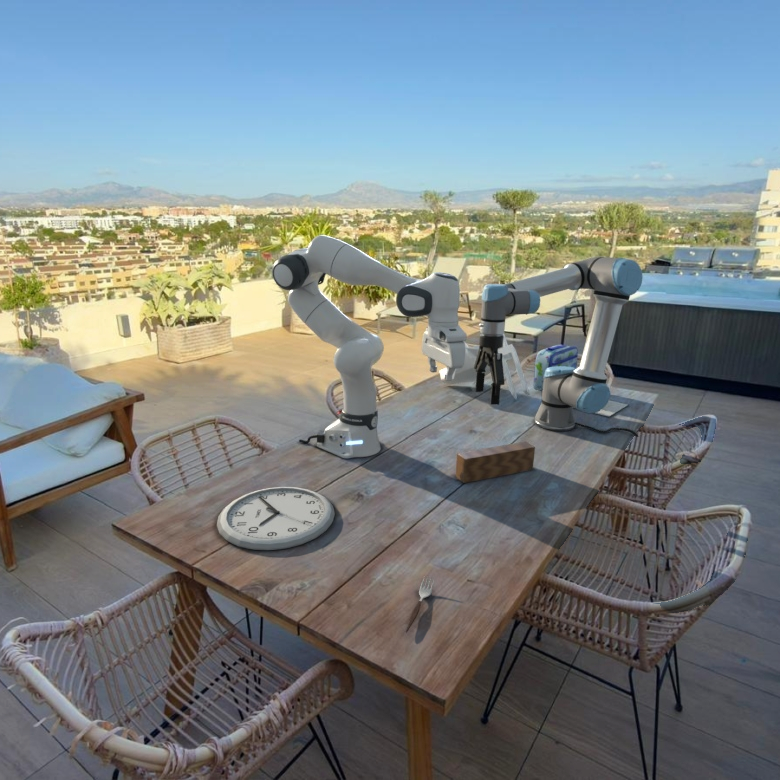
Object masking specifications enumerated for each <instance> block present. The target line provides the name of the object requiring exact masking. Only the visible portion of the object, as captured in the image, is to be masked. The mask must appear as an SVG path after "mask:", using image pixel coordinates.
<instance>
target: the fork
mask: <svg viewBox="0 0 780 780" xmlns="http://www.w3.org/2000/svg"><path fill="white" fill-rule="evenodd" d="M435 577H436V576H434V577H433V580H432V577H429V576H427V577H426V574H424V575H423V579H422V581H421V585H420V588H419V589H418V594H419V597H420V598H419V600H418V602H417V604H416V605H415V606H414V608H413V609H412V611H411V615H410V618H409V620H408V621H409V622H408V623H407V627H406V630H405V633H408V632H409V630H410V629H411V627H412V625H413V624H414V621H415V620H416V618H417V617H418V615H419V613H420V608H421V605H422V603H423V602H422V601H423V599H425V598H428V597H430V596H431V595H432V592H433V588H434V583H435ZM425 578H426V581H425ZM429 578H430V579H429ZM428 579H429V582H428ZM431 581H432V583H431ZM424 582H425V583H424Z"/></svg>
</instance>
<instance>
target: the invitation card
mask: <svg viewBox="0 0 780 780" xmlns="http://www.w3.org/2000/svg"><path fill="white" fill-rule="evenodd" d="M628 406H629V404H627V403H623V402H618V401H614V400H610V399H609V401H608V403H607V404H606V406H605V407H604V408H603V409H601V410H600V411H598V412H596V413H595V414H596V415H600V416H604V417H608V418H609V417H611V416H613V415H614V414H616V413H617V412H619V411H621V410H623V409H624V408H626V407H628Z"/></svg>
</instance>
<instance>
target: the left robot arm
mask: <svg viewBox="0 0 780 780" xmlns="http://www.w3.org/2000/svg"><path fill="white" fill-rule="evenodd" d="M271 269H272V270H271V274H272V279H273V280H274V282H275V284H276V285H277V286H278V287H279V288H280V289H282V290H285V291H289V292H288V294H287V295H288V296H287V302H288V303H287V304H288V305H289V306H290V308H291V309H292V311H293V312H294V313H295V315H296V316H297V317H298V318H299V319H300V320H301V321H302V322H303V323H304V324H305V325H306V326H307V327H308V329H309V330H311V331H312V332H313V334H315V335H316V336H317V338H319V339H320V340H321V341H323V342H324V343H326V344H330V345H332V346H333V347H335V348H337V349H336V351H335V353H333V354H334V355H333V365H334V368H335V369H336V371H337V372H338V373H339V376H340V377H339V378H340V380H341V384H342V396H343V399H342V402H343V404H342V405H343V407H342V408H341V409H340V410H338V411H337V412H336V413H337V414H336V415H337V416H338V415H339V417H338V418H337V419H336V420H334V421H333V422H331V423H330V424H329V425H328V426H326V427H325V429H324V430H318V431H317V434H314V435H310V436H308V437H307V439H306V440H304V439H299V441H298V442H299V443H301V444H302V443H303V444H309V443H310V442H311V439H316V447H317V448H319V449H322V450H324V451H326V452H329V453H331V454H333V455H335V456H338V457H340V458H343V459H352V458H364V457H365V458H366V457H371V456H374V455H376V454H378V453H380V452H381V450H382V446H381V444H380V440H379V434H378V424H379V423H378V422H379V414H378V413H379V411H378V408H377V402H378V401H377V395H378V393H377V386H376V385H375V383H374V377H373V373H372V370H373V366H374V365H376V364H377V363H378V362H379V361H380V359H381V358H382V356H383V353H384V349H385V347H384V346H385V345H384V341H383V340H382V339H381V337H380V336H378V335H377V334H376V333H371V332H370V331H368V330H367V329H365V328H364V327H362V326H361V325H360V324H358V323H356V322H355V321H354V320H352V319H351V318H349V317H348V316H347V315H346V314H344V313H343V312H342V311H341V310H340V309H339V308H338V307H337V306H336V305H335V304H334V303H333V302H332V301H331V300H330V299H329V298H328V297H326V295H325V294H324V293H323V292H322V291H321V290H320V288H319V285H322V284H323V283H324V281H325V278H326V275H327V276H329V277H331V278H332V279H335V280H337V281H338V282H341V283H344V284H347V285H350V286H376V287H380V288H383V289H386V290H388V291H391V292H392V293H395V294H397V295H396V299H395V303H396V307H397V310H398V311H399V312H400V313H401V314H402V315H403V316H405V317H407V318H418V317H423V316H425V317H427V326H426V328H425V330H424V332H423V334H422V340H421V353H422V355H424V356H425V357H427V361H428V365H429V372H431V373H437V371H438V366H437V364H436V362H437V363H440V364H442V365H444V366H446V367H447V368H446V367H445V368H446V369H447V373H446V374H445V380H447V381H451V380H452V375H453V373H454V371H455V369H457V368H462V367H463V365H464V360H465V343H466V341H467V340H468V339H467V338H468V335H467V333H466V332H465V330H464V329H463V328H462V327H461V326H460V324H459V315H458V314H459V308H460V300H461V291H460V281H459V279H458V278H457V277H456V276H454V275H453V274H450V273H446V272H440V271H439V272H438V271H437V272H433V273H432V274H430V275H429V276H427V277H426V278H424V279H418V278H413V277H411V276H408V275H406V274H404V273H403V272H401V271H398V270H396V269H393V268H391V267H389V266H387V265H385V264H383V263H381V262H380V261H378V260H377V259H375V258H373V257H371V256H369V255H368V254H366V253H365V252H363V251H362V250H360V249H358V248H356V247H355V246H353V245H351V244H349V243H347V242H345V241H343V240H341V239H338V238H335V237H332V236H329V235H324V234H319V235H317V236H315V237H314V238H313V239H312V240H311V241H310V242H309V244H308V246H305V247H302V248H298V249H296V250H293V251H291V252H289V253H288V254H285V255H282V256H281V257H279V258H278V259H276V261H275V262H274V263H273V264H272V268H271ZM463 341H464V342H465V343H464V342H463Z"/></svg>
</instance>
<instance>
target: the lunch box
mask: <svg viewBox="0 0 780 780" xmlns="http://www.w3.org/2000/svg"><path fill="white" fill-rule="evenodd" d="M578 353H579V352H578V347H577V346H571V345H565V344H556V345H553V346H549V347H546V348H544V349H541V350H539V351H538V353H537V354H536V357H535V361H534V371H533V372H534V373H533V389H534V390H535V391H539V392H542V391H543V380H544V374H545V370H546V369H547V368H549V367H556V366H566V367H574V368H576V369H577V366H578V356H579V354H578Z"/></svg>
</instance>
